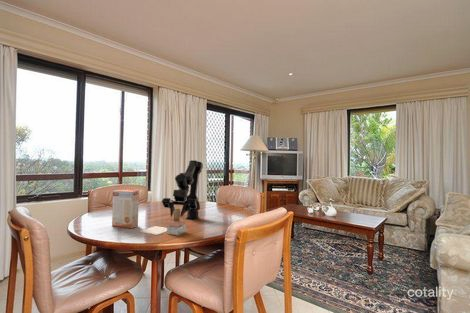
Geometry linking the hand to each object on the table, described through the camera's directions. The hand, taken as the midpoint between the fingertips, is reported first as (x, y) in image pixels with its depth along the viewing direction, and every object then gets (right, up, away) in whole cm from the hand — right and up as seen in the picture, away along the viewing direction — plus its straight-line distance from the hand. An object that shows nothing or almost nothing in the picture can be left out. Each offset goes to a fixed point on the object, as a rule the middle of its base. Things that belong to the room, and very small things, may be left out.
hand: (175, 216), depth 133 cm
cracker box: (-32, -9, +12) cm, 36 cm away
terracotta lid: (0, -5, +1) cm, 5 cm away
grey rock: (0, -9, +1) cm, 9 cm away
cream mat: (-12, -9, +4) cm, 15 cm away
